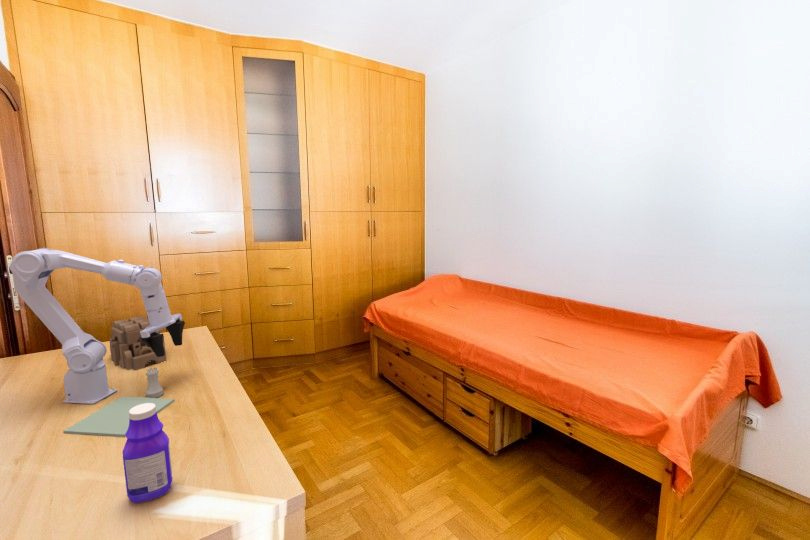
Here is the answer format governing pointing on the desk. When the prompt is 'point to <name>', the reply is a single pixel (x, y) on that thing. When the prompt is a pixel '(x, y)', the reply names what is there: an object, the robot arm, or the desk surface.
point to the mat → (114, 417)
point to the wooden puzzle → (132, 344)
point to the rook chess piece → (153, 384)
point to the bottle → (146, 455)
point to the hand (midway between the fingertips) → (170, 350)
